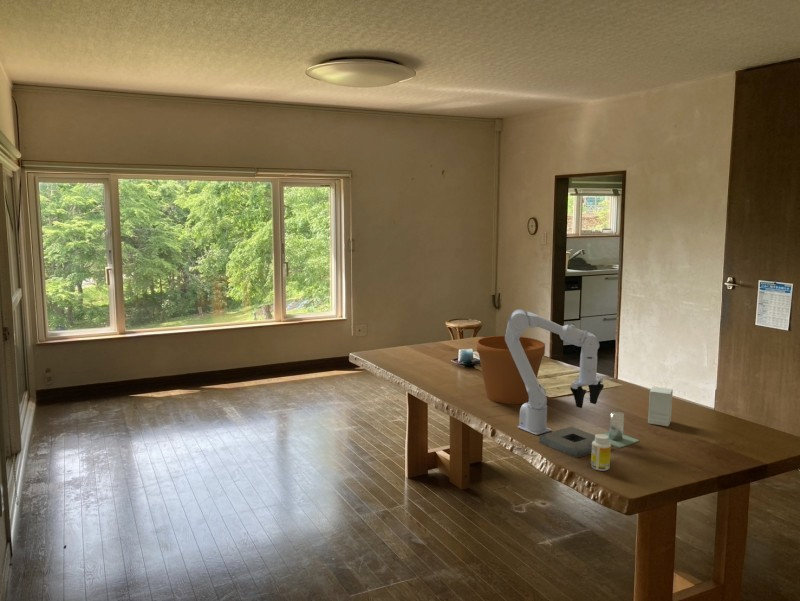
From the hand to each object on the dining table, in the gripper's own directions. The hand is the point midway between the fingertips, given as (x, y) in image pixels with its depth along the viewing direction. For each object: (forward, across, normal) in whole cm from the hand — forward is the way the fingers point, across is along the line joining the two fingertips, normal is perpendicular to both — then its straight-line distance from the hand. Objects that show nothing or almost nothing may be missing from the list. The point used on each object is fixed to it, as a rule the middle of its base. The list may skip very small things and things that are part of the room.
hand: (586, 405), depth 220 cm
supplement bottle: (+11, -20, -22) cm, 32 cm away
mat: (+10, +4, -10) cm, 15 cm away
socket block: (+10, -12, -5) cm, 17 cm away
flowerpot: (+11, +8, +46) cm, 48 cm away
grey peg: (+10, +4, -10) cm, 15 cm away
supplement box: (+11, +33, -8) cm, 36 cm away
